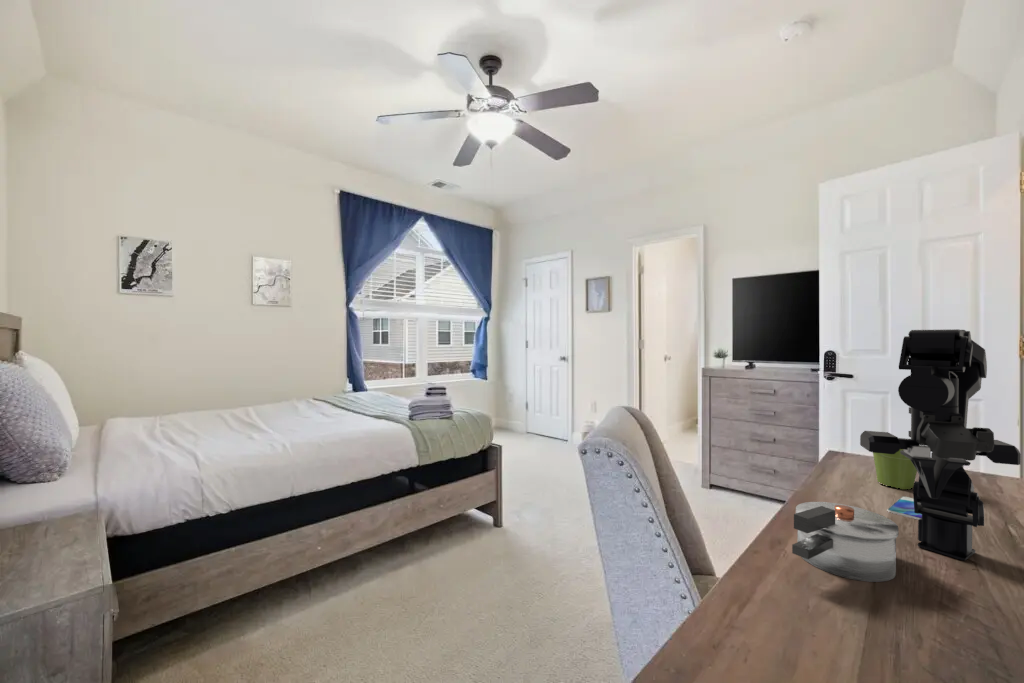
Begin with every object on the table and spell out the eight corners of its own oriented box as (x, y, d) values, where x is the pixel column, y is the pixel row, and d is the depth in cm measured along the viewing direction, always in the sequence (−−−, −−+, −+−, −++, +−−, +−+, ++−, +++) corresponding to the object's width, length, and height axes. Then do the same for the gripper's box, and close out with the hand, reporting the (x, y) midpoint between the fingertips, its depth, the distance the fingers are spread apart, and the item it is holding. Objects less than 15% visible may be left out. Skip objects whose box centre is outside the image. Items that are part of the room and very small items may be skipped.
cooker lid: (823, 502, 89) (823, 485, 89) (915, 530, 76) (915, 510, 76) (758, 520, 80) (758, 501, 80) (850, 556, 67) (850, 533, 67)
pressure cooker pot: (827, 533, 90) (827, 501, 90) (916, 563, 78) (916, 526, 78) (757, 565, 77) (757, 527, 77) (850, 606, 65) (851, 562, 65)
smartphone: (941, 504, 105) (928, 520, 96) (941, 508, 105) (928, 524, 96) (901, 495, 111) (885, 509, 102) (901, 498, 111) (885, 513, 102)
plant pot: (910, 495, 112) (910, 451, 112) (858, 482, 123) (858, 441, 123) (935, 489, 117) (935, 446, 117) (882, 476, 128) (883, 437, 128)
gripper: (881, 407, 70) (880, 505, 71) (1046, 416, 63) (1045, 526, 63) (859, 399, 81) (858, 484, 81) (999, 405, 73) (998, 500, 73)
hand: (933, 497), depth 74 cm, fingers closed
